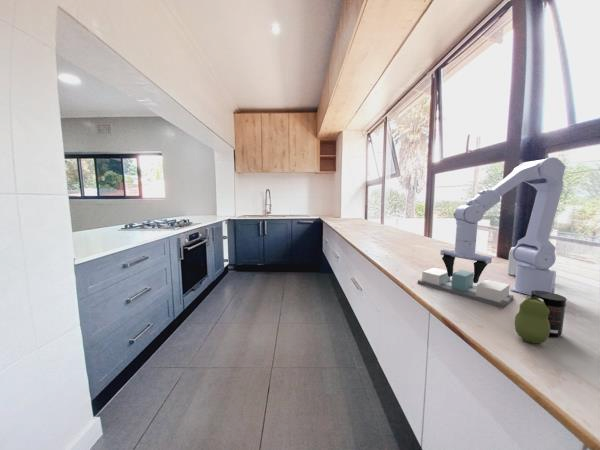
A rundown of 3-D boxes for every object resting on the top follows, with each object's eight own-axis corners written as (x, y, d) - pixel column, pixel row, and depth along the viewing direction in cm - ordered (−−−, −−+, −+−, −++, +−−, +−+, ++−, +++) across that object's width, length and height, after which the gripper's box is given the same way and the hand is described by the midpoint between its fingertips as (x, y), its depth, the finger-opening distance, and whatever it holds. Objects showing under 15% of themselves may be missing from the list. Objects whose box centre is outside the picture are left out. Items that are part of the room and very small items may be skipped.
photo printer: (506, 274, 99) (509, 245, 97) (508, 272, 101) (511, 244, 100) (540, 281, 91) (544, 249, 89) (542, 278, 94) (545, 248, 92)
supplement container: (548, 326, 59) (552, 291, 58) (569, 339, 53) (574, 301, 52) (520, 323, 60) (524, 289, 59) (538, 336, 54) (543, 299, 53)
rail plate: (513, 298, 75) (514, 284, 74) (502, 307, 69) (504, 293, 68) (431, 277, 95) (432, 266, 95) (417, 282, 89) (418, 271, 88)
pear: (547, 340, 53) (552, 297, 52) (549, 352, 49) (555, 305, 48) (513, 331, 57) (517, 290, 55) (512, 340, 53) (517, 297, 52)
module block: (472, 286, 82) (473, 272, 82) (464, 291, 78) (465, 276, 78) (459, 283, 86) (460, 269, 85) (451, 287, 81) (452, 273, 81)
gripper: (437, 238, 83) (434, 275, 85) (487, 245, 72) (483, 288, 73) (446, 236, 87) (443, 272, 89) (495, 242, 76) (491, 283, 77)
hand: (462, 279), depth 81 cm, fingers open, 7 cm apart
